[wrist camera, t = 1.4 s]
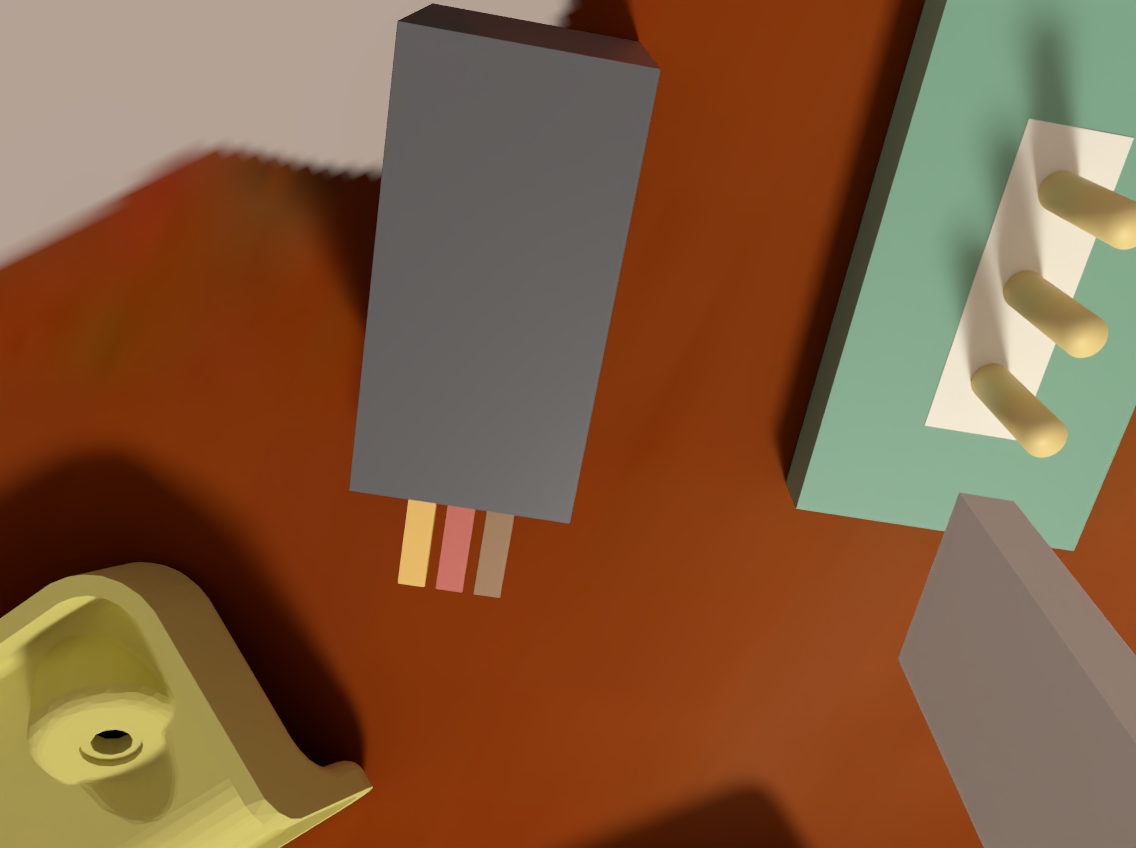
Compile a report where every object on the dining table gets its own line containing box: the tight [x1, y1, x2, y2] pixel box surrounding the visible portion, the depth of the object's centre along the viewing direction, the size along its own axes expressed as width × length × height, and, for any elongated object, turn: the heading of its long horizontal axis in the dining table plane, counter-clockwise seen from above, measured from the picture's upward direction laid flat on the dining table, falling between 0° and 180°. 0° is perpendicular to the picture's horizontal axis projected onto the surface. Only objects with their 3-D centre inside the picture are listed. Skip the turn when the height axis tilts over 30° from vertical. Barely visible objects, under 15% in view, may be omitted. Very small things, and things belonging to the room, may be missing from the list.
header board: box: [786, 0, 1136, 551], centre depth 26 cm, size 8×14×5 cm, turn 170°
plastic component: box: [0, 562, 373, 848], centre depth 34 cm, size 20×7×10 cm
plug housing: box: [349, 4, 661, 598], centre depth 26 cm, size 14×5×6 cm, turn 170°
